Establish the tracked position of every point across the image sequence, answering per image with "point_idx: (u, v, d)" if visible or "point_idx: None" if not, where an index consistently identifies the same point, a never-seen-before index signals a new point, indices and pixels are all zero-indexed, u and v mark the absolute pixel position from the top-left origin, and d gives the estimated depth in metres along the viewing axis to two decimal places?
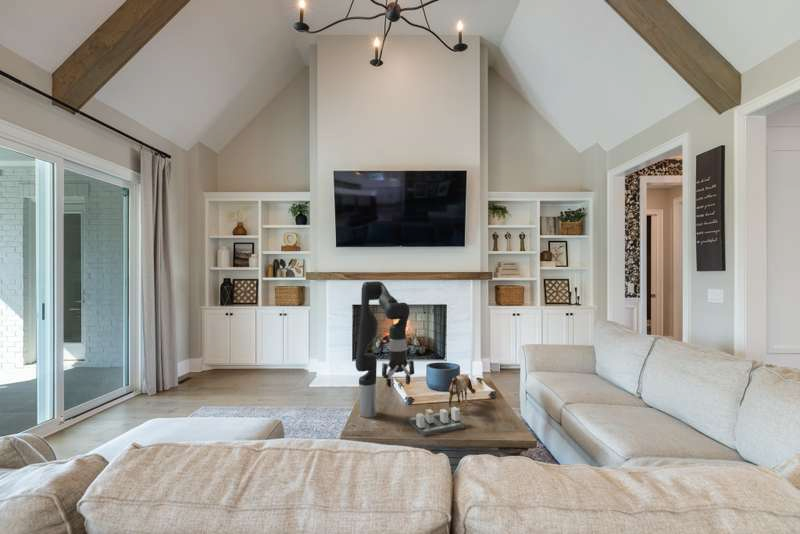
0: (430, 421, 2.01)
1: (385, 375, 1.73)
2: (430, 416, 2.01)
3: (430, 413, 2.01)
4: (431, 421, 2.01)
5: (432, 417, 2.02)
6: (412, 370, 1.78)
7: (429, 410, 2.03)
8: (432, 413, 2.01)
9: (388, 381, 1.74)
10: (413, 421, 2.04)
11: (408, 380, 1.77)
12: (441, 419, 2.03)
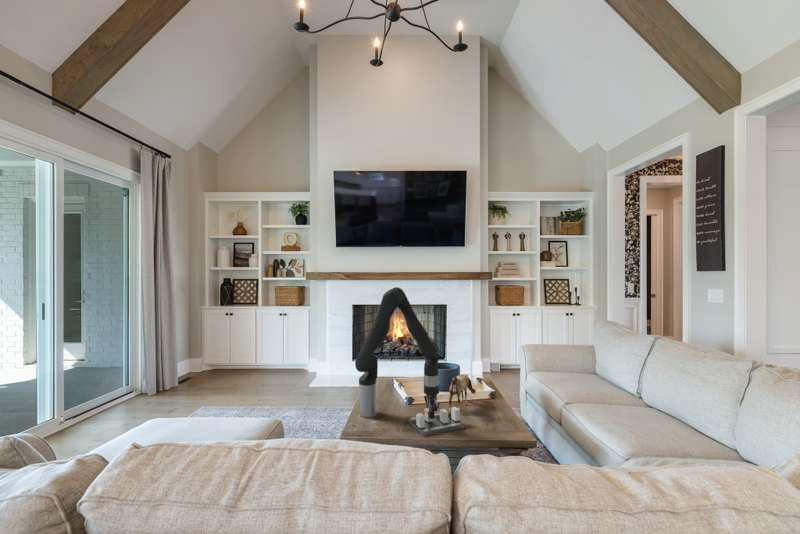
0: (429, 420, 2.02)
1: None
2: None
3: None
4: (430, 420, 2.03)
5: None
6: None
7: None
8: None
9: None
10: (413, 421, 2.04)
11: None
12: (441, 419, 2.03)
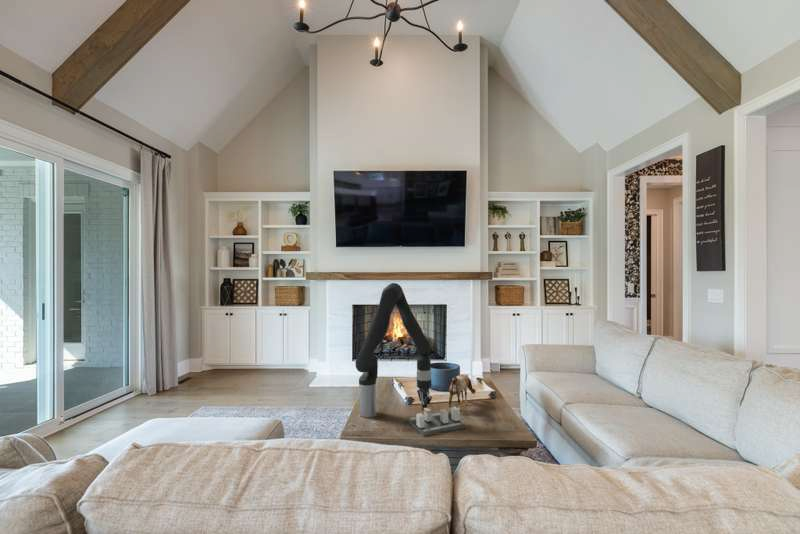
0: (428, 419, 2.03)
1: None
2: (428, 415, 2.03)
3: (428, 411, 2.03)
4: (429, 419, 2.03)
5: (430, 415, 2.04)
6: None
7: (427, 408, 2.05)
8: (430, 411, 2.03)
9: (426, 406, 2.08)
10: (413, 421, 2.04)
11: None
12: (441, 419, 2.03)
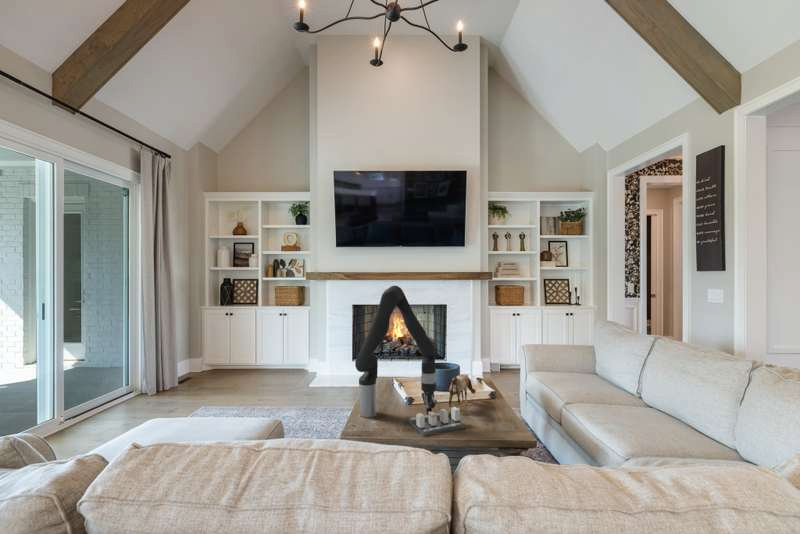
0: (433, 423, 1.98)
1: None
2: (433, 419, 1.98)
3: (433, 415, 1.98)
4: (434, 423, 1.99)
5: (435, 419, 1.99)
6: None
7: (432, 412, 2.00)
8: (435, 415, 1.99)
9: None
10: (413, 421, 2.04)
11: None
12: (441, 419, 2.03)
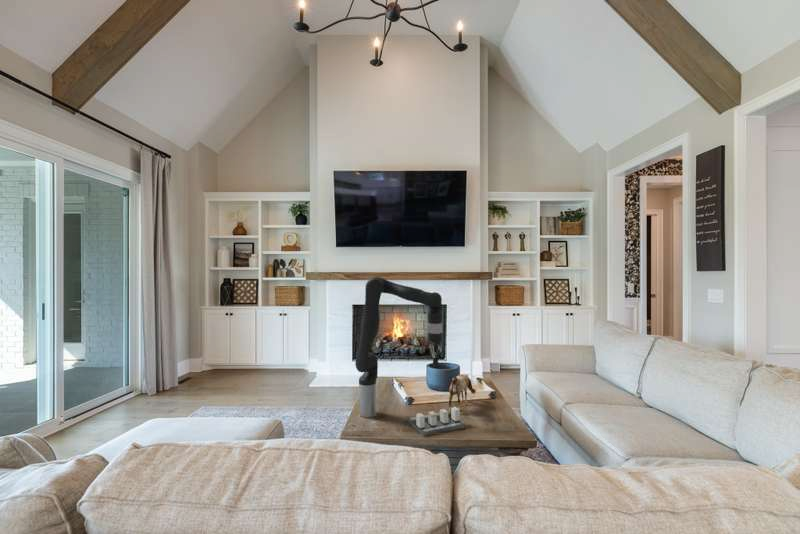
0: (433, 423, 1.98)
1: None
2: (433, 419, 1.98)
3: (433, 415, 1.98)
4: (434, 423, 1.99)
5: (435, 419, 1.99)
6: None
7: (432, 412, 2.00)
8: (435, 415, 1.99)
9: (437, 360, 2.09)
10: (413, 421, 2.04)
11: None
12: (441, 419, 2.03)
